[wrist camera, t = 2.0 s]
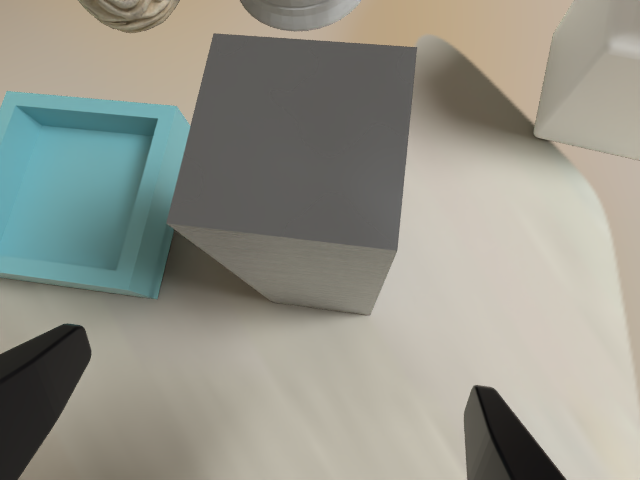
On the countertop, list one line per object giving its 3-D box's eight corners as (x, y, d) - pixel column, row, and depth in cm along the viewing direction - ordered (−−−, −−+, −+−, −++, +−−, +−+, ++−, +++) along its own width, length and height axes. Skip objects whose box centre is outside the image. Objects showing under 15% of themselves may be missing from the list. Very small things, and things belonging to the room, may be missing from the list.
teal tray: (157, 299, 22) (128, 290, 19) (-10, 276, 23) (-61, 264, 20) (197, 135, 25) (176, 105, 22) (45, 121, 26) (6, 91, 23)
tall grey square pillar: (370, 315, 21) (397, 250, 9) (272, 302, 22) (165, 223, 9) (380, 220, 22) (417, 47, 10) (287, 210, 23) (213, 33, 11)
